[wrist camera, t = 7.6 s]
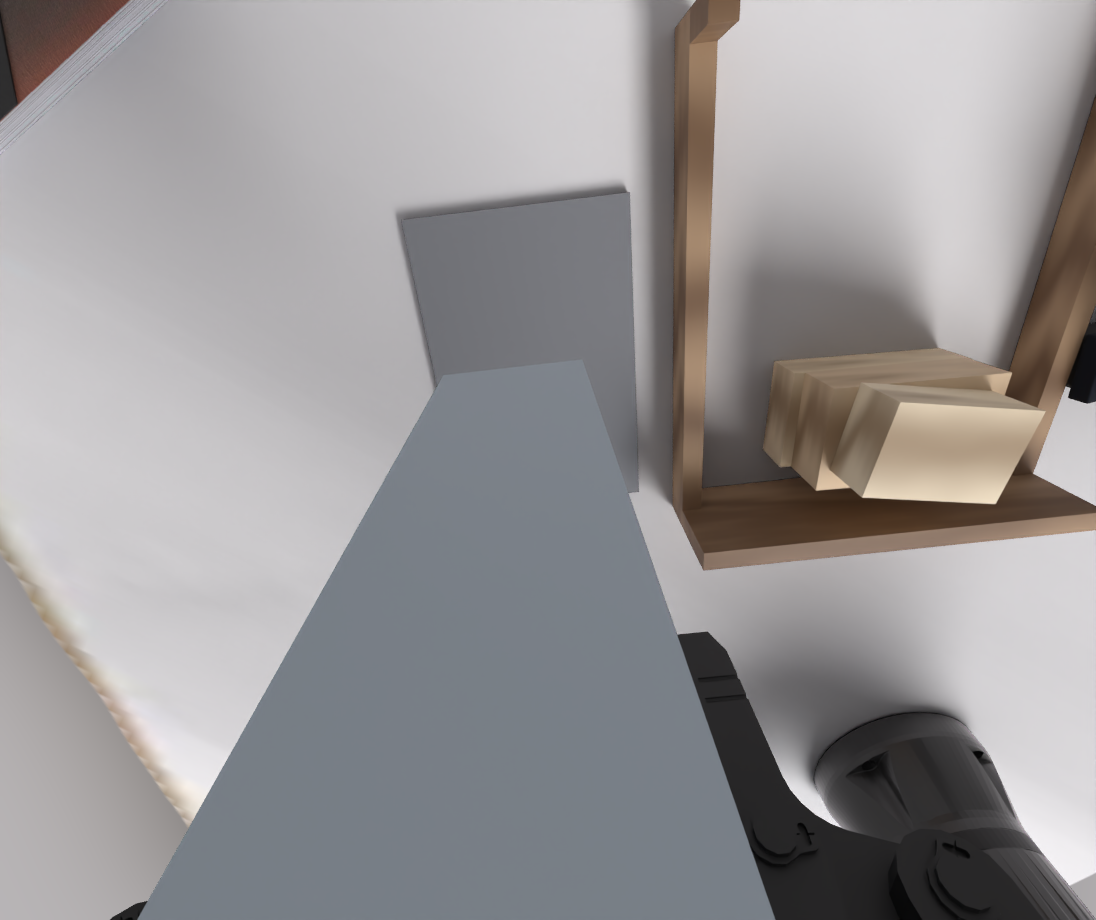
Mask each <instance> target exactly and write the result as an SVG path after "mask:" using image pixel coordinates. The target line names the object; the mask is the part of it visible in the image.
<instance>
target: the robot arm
mask: <svg viewBox="0 0 1096 920" xmlns="http://www.w3.org/2000/svg"><path fill="white" fill-rule="evenodd" d="M677 636H678V639H679V642H680V645H681V647H682V650H683V653H684V656H685V659H686V662H687V665H688V668H689V671H690V674H691V676H692V679H693V682H694V685H695V688H696V691H697V694H698V697H699V700H700V703H701V706H702V708H703V711H704V714H705V717H706V720H707V723H708V726H709V729H710V732H711V735H712V737H713V740H714V743H715V746H716V749H717V752H718V755H719V758H720V761H721V764H722V766H723V769H724V772H725V775H726V778H727V781H728V784H729V787H730V790H731V793H732V795H733V798H734V801H735V804H736V807H737V810H738V813H739V816H740V819H741V822H742V825H743V827H744V830H745V833H746V836H747V839H748V842H749V845H750V848H751V851H752V854H753V856H754V859H755V862H756V865H757V868H758V871H759V874H760V877H761V880H762V883H763V885H764V888H765V891H766V894H767V897H768V900H769V903H770V906H771V909H772V912H773V914H774V917H775V920H1096V919H1095V918H1094V916H1093V915H1092V914H1091V912H1090V911H1089V910H1088V909H1087V907H1086V906H1085V905H1084V904H1083V903H1082V901H1081V900H1080V899H1079V898H1078V896H1077V895H1076V894H1075V893H1074V891H1073V890H1072V889H1071V888H1070V886H1069V885H1068V884H1067V883H1066V881H1065V880H1064V879H1063V878H1062V876H1061V875H1060V874H1059V873H1058V871H1057V870H1056V869H1055V868H1054V867H1053V865H1052V864H1051V863H1050V862H1049V860H1048V859H1047V858H1046V857H1045V856H1044V854H1043V853H1042V852H1041V851H1040V849H1039V848H1038V847H1037V846H1036V844H1035V843H1034V842H1033V840H1032V839H1031V838H1030V837H1029V835H1028V834H1027V833H1026V831H1025V830H1024V828H1023V827H1022V825H1021V823H1020V821H1019V819H1018V817H1017V814H1016V812H1015V810H1014V808H1013V806H1012V803H1011V801H1010V799H1009V797H1008V795H1007V793H1006V790H1005V788H1004V786H1003V784H1002V782H1001V779H1000V777H999V775H998V773H997V771H996V768H995V766H994V764H993V762H992V760H991V758H990V756H989V754H988V753H987V751H986V749H985V748H984V747H983V746H982V745H981V743H980V742H979V741H978V740H977V739H976V737H975V736H974V735H973V734H972V733H971V732H970V730H969V729H968V728H967V727H966V726H965V725H964V724H962V723H961V722H959V721H958V720H956V719H953V718H951V717H948V716H944V715H940V714H933V713H909V714H901V715H896V716H891V717H887V718H883V719H880V720H877V721H874V722H871V723H869V724H866V725H864V726H862V727H860V728H858V729H856V730H854V731H852V732H850V733H848V734H847V735H845V736H844V737H842V738H841V739H840V740H838V741H837V742H836V743H835V744H833V745H832V746H831V747H830V748H829V749H828V750H827V751H826V752H825V754H824V755H823V756H822V758H821V759H820V761H819V763H818V765H817V767H816V770H815V775H814V780H815V785H816V788H817V790H818V792H819V794H820V796H821V798H822V800H823V802H824V804H825V806H826V808H827V810H828V811H829V813H830V814H831V816H832V817H833V818H834V819H835V821H836V822H837V823H838V824H839V825H840V826H841V827H842V828H840V827H837V826H835V825H832V824H830V823H828V822H827V821H825V820H823V819H822V818H820V817H818V816H816V815H815V814H814V813H813V812H811V811H810V810H809V809H808V808H807V807H805V806H804V805H803V804H802V803H801V802H800V801H799V800H798V799H797V797H796V796H795V795H794V794H793V793H792V791H791V790H790V789H789V787H788V785H787V784H786V782H785V780H784V778H783V777H782V774H781V772H780V770H779V768H778V765H777V763H776V761H775V759H774V756H773V754H772V752H771V750H770V747H769V745H768V743H767V741H766V738H765V736H764V734H763V732H762V729H761V727H760V725H759V723H758V720H757V718H756V716H755V714H754V711H753V709H752V707H751V705H750V702H749V700H748V699H747V698H746V693H745V691H744V689H743V687H742V684H741V682H740V680H739V679H738V678H737V673H736V671H735V669H734V666H733V664H732V662H731V660H730V657H729V655H728V653H727V651H726V650H725V649H724V648H723V647H722V646H721V645H720V644H719V643H718V642H717V641H716V640H715V639H714V638H713V637H712V636H711V635H710V634H709V633H708V632H699V633H689V634H679V635H677ZM147 902H148V901H146V902H142V903H137V904H135V905H133V906H131V907H129V908H128V909H126V910H124V911H123V912H121V913H119V914H117V915H116V916H114V917H112V919H110V920H137V919H138V918H139V916H140V914H141V912H142V910H143V909H144V907H145V905H146V903H147Z"/></svg>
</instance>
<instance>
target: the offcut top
mask: <svg viewBox="0 0 1096 920" xmlns="http://www.w3.org/2000/svg"><path fill="white" fill-rule="evenodd" d="M1045 412H1046V411H1045V410H1042V409H1039V408H1037V407H1034V406H1031V405H1029V404H1026V403H1023V402H1021V401H1018V400H1015V399H1013V398H1010V397H1007V396H1005V395H1002V394H999V393H997V392H994V391H989V390H973V389H957V388H941V387H925V386H909V385H893V384H877V383H861V384H860V387H859V390H858V392H857V395H856V398H855V401H854V404H853V406H852V409H851V412H850V415H849V418H848V420H847V423H846V426H845V429H844V431H843V434H842V437H841V440H840V443H839V445H838V448H837V451H836V454H835V456H834V459H833V462H832V465H831V468H830V471H831V472H833V473H834V474H835V475H836V476H837V477H838V478H840V479H841V480H842V481H843V482H844V483H846V484H847V485H848V486H849V487H850V488H851V489H853V490H854V491H855V492H856V493H857V494H858V495H860V496H861V497H862V498H881V499H901V500H921V501H942V502H962V503H983V504H996V502H997V501H998V499H999V497H1000V495H1001V493H1002V491H1003V490H1004V488H1005V486H1006V484H1007V482H1008V480H1009V478H1010V477H1011V475H1012V473H1013V471H1014V469H1015V467H1016V466H1017V464H1018V462H1019V460H1020V458H1021V456H1022V455H1023V453H1024V451H1025V449H1026V447H1027V445H1028V443H1029V442H1030V440H1031V438H1032V436H1033V434H1034V432H1035V431H1036V429H1037V427H1038V425H1039V423H1040V421H1041V420H1042V418H1043V416H1044V414H1045Z"/></svg>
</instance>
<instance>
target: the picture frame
mask: <svg viewBox="0 0 1096 920" xmlns="http://www.w3.org/2000/svg"><path fill="white" fill-rule="evenodd" d="M167 1H168V0H0V155H1V154H2V153H3V152H4V151H5V150H6V149H7V148H8V147H9V146H10V145H11V144H12V143H14V142H15V141H16V140H17V139H18V138H19V137H20V136H21V135H22V134H23V133H24V132H26V131H27V130H28V129H29V128H30V127H31V126H32V125H33V124H34V123H35V122H36V121H38V120H39V119H40V118H41V117H42V116H43V115H44V114H45V113H46V112H47V111H48V110H50V109H51V108H52V107H53V106H54V105H55V104H56V103H57V102H58V101H59V100H60V99H62V98H63V97H64V96H65V95H66V94H67V93H68V92H69V91H70V90H71V89H72V88H74V87H75V86H76V85H77V84H78V83H79V82H80V81H81V80H82V79H83V78H84V77H86V76H87V75H88V74H89V73H90V72H91V71H92V70H93V69H94V68H95V67H96V66H97V65H99V64H100V63H101V62H102V61H103V60H104V59H105V58H106V57H107V56H108V55H109V54H111V53H112V52H113V51H114V50H115V49H116V48H117V47H118V46H119V45H120V44H121V43H123V42H124V41H125V40H126V39H127V38H128V37H129V36H130V35H131V34H132V33H133V32H135V31H136V30H137V29H138V28H139V27H140V26H141V25H142V24H143V23H144V22H145V21H147V20H148V19H149V18H150V17H151V16H152V15H153V14H154V13H155V12H156V11H157V10H159V9H160V8H161V7H162V6H163V5H164V4H165V3H166V2H167Z"/></svg>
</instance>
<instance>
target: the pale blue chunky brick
mask: <svg viewBox="0 0 1096 920" xmlns="http://www.w3.org/2000/svg"><path fill="white" fill-rule="evenodd" d="M137 920H775V917H774V914H773V912H772V909H771V906H770V903H769V900H768V897H767V894H766V891H765V888H764V885H763V883H762V880H761V877H760V874H759V871H758V868H757V865H756V862H755V859H754V856H753V854H752V851H751V848H750V845H749V842H748V839H747V836H746V833H745V830H744V827H743V825H742V822H741V819H740V816H739V813H738V810H737V807H736V804H735V801H734V798H733V795H732V793H731V790H730V787H729V784H728V781H727V778H726V775H725V772H724V769H723V766H722V764H721V761H720V758H719V755H718V752H717V749H716V746H715V743H714V740H713V737H712V735H711V732H710V729H709V726H708V723H707V720H706V717H705V714H704V711H703V708H702V706H701V703H700V700H699V697H698V694H697V691H696V688H695V685H694V682H693V679H692V676H691V674H690V671H689V668H688V665H687V662H686V659H685V656H684V653H683V650H682V647H681V645H680V642H679V639H678V636H677V633H676V630H675V627H674V624H673V621H672V618H671V616H670V613H669V610H668V607H667V604H666V601H665V598H664V595H663V592H662V589H661V586H660V584H659V581H658V578H657V575H656V572H655V569H654V566H653V563H652V560H651V557H650V555H649V552H648V549H647V546H646V543H645V540H644V537H643V534H642V531H641V528H640V526H639V523H638V520H637V517H636V514H635V511H634V508H633V505H632V502H631V499H630V497H629V494H628V491H627V488H626V485H625V482H624V479H623V476H622V473H621V470H620V467H619V465H618V462H617V459H616V456H615V453H614V450H613V447H612V444H611V441H610V438H609V436H608V433H607V430H606V427H605V424H604V421H603V418H602V415H601V412H600V409H599V407H598V404H597V401H596V398H595V395H594V392H593V389H592V386H591V383H590V380H589V378H588V375H587V372H586V369H585V366H584V363H583V360H582V359H581V360H573V361H564V362H555V363H546V364H538V365H529V366H520V367H511V368H502V369H494V370H485V371H476V372H467V373H459V374H450V375H443V377H442V379H441V380H440V382H439V384H438V386H437V387H436V389H435V391H434V393H433V395H432V396H431V398H430V400H429V402H428V404H427V405H426V407H425V409H424V411H423V412H422V414H421V416H420V418H419V420H418V421H417V423H416V425H415V427H414V428H413V430H412V432H411V434H410V436H409V437H408V439H407V441H406V443H405V444H404V446H403V448H402V450H401V452H400V453H399V455H398V457H397V459H396V460H395V462H394V464H393V466H392V468H391V469H390V471H389V473H388V475H387V476H386V478H385V480H384V482H383V484H382V485H381V487H380V489H379V491H378V492H377V494H376V496H375V498H374V500H373V501H372V503H371V505H370V507H369V508H368V510H367V512H366V514H365V516H364V517H363V519H362V521H361V523H360V524H359V526H358V528H357V530H356V532H355V533H354V535H353V537H352V539H351V540H350V542H349V544H348V546H347V548H346V549H345V551H344V553H343V555H342V556H341V558H340V560H339V562H338V564H337V565H336V567H335V569H334V571H333V572H332V574H331V576H330V578H329V580H328V581H327V583H326V585H325V587H324V588H323V590H322V592H321V594H320V596H319V597H318V599H317V601H316V603H315V604H314V606H313V608H312V610H311V612H310V613H309V615H308V617H307V619H306V620H305V622H304V624H303V626H302V628H301V629H300V631H299V633H298V635H297V636H296V638H295V640H294V642H293V644H292V645H291V647H290V649H289V651H288V653H287V654H286V656H285V658H284V660H283V661H282V663H281V665H280V667H279V669H278V670H277V672H276V674H275V676H274V677H273V679H272V681H271V683H270V685H269V686H268V688H267V690H266V692H265V693H264V695H263V697H262V699H261V701H260V702H259V704H258V706H257V708H256V709H255V711H254V713H253V715H252V717H251V718H250V720H249V722H248V724H247V725H246V727H245V729H244V731H243V733H242V734H241V736H240V738H239V740H238V741H237V743H236V745H235V747H234V749H233V750H232V752H231V754H230V756H229V757H228V759H227V761H226V763H225V765H224V766H223V768H222V770H221V772H220V773H219V775H218V777H217V779H216V781H215V782H214V784H213V786H212V788H211V789H210V791H209V793H208V795H207V797H206V798H205V800H204V802H203V804H202V805H201V807H200V809H199V811H198V813H197V814H196V816H195V818H194V820H193V821H192V823H191V825H190V827H189V829H188V831H187V832H186V834H185V836H184V837H183V839H182V841H181V843H180V845H179V846H178V848H177V850H176V852H175V853H174V855H173V857H172V859H171V861H170V862H169V864H168V866H167V868H166V869H165V871H164V873H163V875H162V877H161V878H160V880H159V882H158V884H157V886H156V887H155V889H154V891H153V893H152V894H151V896H150V898H149V900H148V902H147V903H146V905H145V907H144V909H143V910H142V912H141V914H140V916H139V918H138V919H137Z"/></svg>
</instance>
